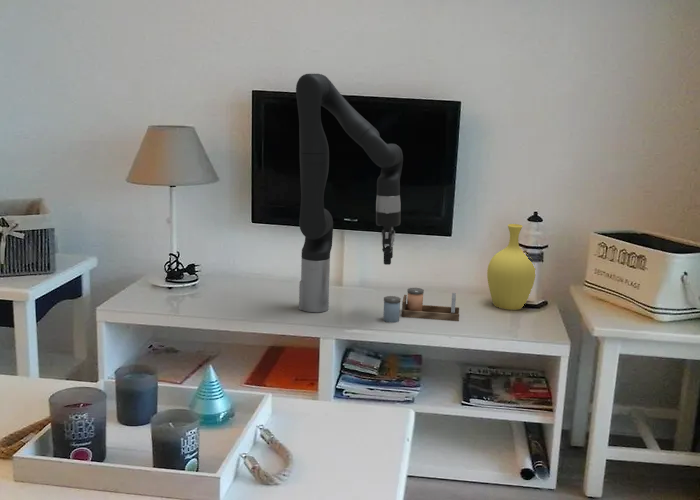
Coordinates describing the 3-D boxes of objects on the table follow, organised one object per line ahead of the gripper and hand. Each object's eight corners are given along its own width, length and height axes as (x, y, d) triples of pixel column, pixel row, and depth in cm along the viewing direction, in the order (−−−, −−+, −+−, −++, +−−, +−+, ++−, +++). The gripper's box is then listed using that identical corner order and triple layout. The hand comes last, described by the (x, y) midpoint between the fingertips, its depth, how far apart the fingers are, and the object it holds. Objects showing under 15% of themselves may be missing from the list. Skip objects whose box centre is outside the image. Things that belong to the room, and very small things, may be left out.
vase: (485, 310, 262) (491, 228, 256) (484, 297, 277) (490, 219, 271) (534, 313, 260) (542, 231, 254) (530, 300, 275) (537, 222, 269)
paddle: (450, 318, 248) (451, 297, 246) (450, 313, 253) (452, 292, 252) (454, 318, 247) (455, 298, 246) (454, 313, 253) (455, 293, 252)
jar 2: (405, 315, 250) (406, 291, 248) (406, 310, 255) (408, 287, 253) (422, 316, 249) (423, 292, 247) (422, 312, 254) (424, 288, 252)
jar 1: (381, 324, 243) (383, 300, 241) (383, 319, 248) (384, 295, 246) (398, 326, 242) (399, 301, 241) (399, 321, 247) (401, 296, 246)
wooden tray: (401, 319, 249) (402, 301, 247) (403, 312, 257) (404, 294, 255) (458, 323, 246) (459, 305, 245) (458, 316, 254) (459, 298, 253)
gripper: (377, 206, 248) (377, 256, 251) (374, 213, 234) (374, 266, 237) (401, 206, 247) (401, 256, 250) (399, 213, 233) (399, 266, 236)
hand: (388, 261), depth 244 cm, fingers open, 8 cm apart
